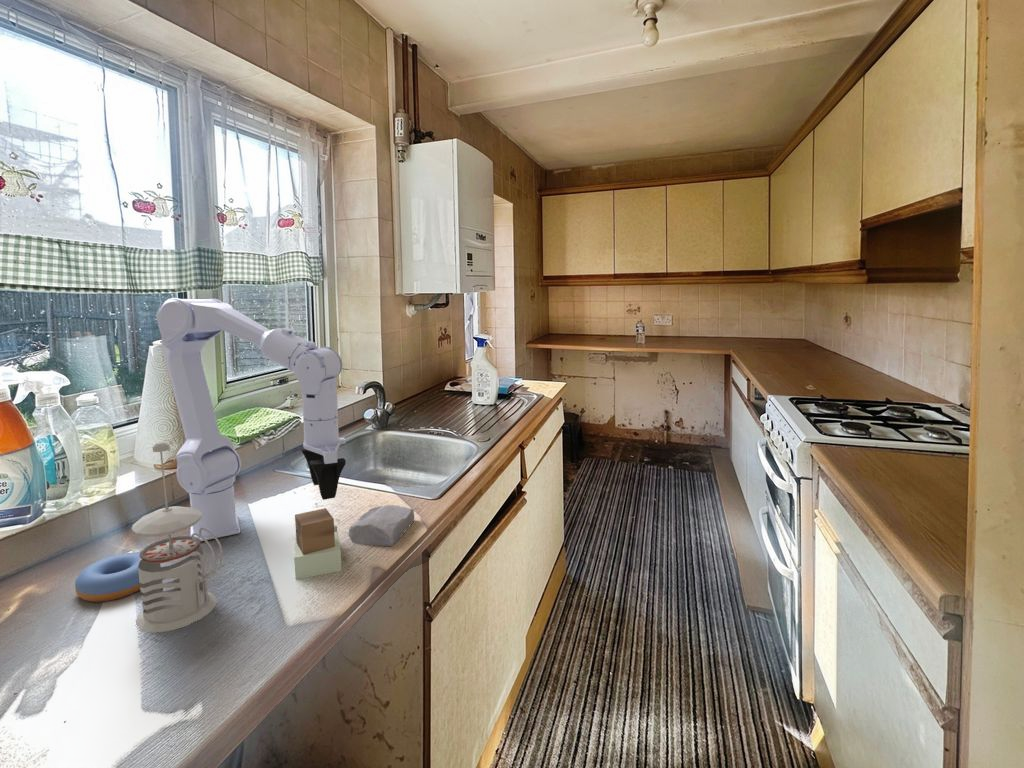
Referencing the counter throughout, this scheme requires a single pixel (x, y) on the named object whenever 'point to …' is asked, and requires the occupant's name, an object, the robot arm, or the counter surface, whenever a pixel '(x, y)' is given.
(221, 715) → the counter surface
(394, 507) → the stone block
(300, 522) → the walnut cube
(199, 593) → the french press
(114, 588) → the doughnut
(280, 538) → the counter surface
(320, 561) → the sage block
